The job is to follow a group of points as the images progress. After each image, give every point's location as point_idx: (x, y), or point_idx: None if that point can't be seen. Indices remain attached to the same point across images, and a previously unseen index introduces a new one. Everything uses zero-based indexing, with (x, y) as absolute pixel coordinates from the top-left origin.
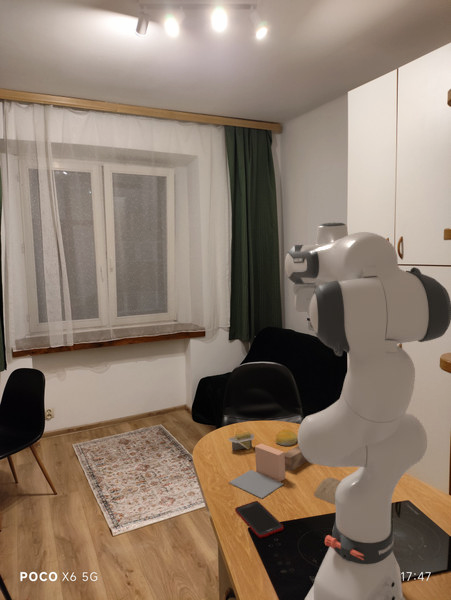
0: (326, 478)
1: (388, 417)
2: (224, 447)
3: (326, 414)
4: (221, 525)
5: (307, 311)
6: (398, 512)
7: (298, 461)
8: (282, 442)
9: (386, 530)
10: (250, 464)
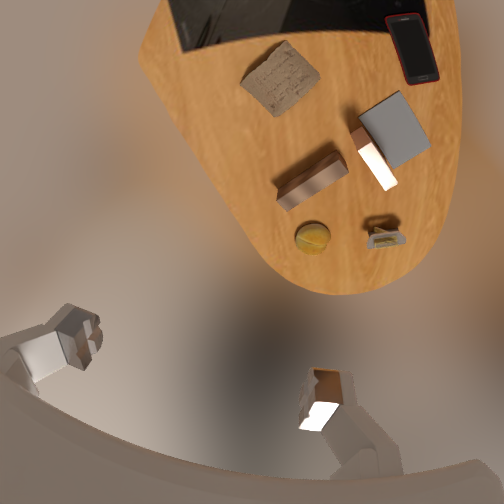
0: (289, 107)
1: None
2: None
3: None
4: (458, 56)
5: (420, 474)
6: (207, 24)
7: (319, 165)
8: (323, 228)
9: None
10: None
